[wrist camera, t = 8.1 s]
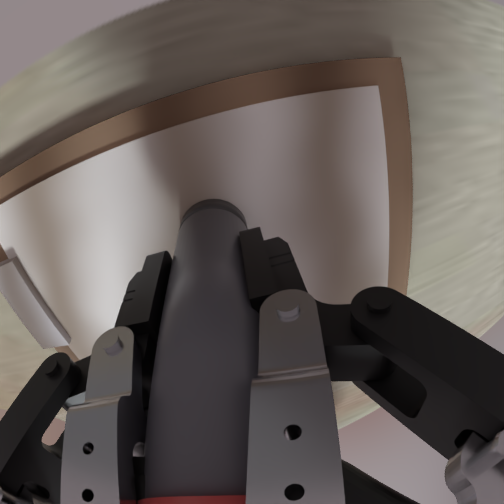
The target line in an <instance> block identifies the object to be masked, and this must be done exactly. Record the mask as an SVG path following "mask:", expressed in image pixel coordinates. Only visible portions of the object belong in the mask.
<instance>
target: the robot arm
mask: <svg viewBox="0 0 504 504" xmlns="http://www.w3.org/2000/svg"><path fill="white" fill-rule="evenodd" d="M239 234H240V241H241V248H242V254H243V261H244V268H245V274H246V281H247V287H248V294H249V300H250V303H251V306H252V308H253V309H254V310H256V311H257V312H258V313H259V314H260V321H259V366H258V376H256V377H253V379H252V383H251V395H250V418H249V440H248V462H247V484H246V504H420V503H417V502H416V501H414V500H411V499H410V498H408V497H406V496H404V495H402V494H400V493H399V492H397V491H395V490H393V489H392V488H390V487H388V486H386V485H385V484H383V483H381V482H379V481H378V480H376V479H374V478H372V477H371V476H369V475H368V474H366V473H364V472H363V471H361V470H359V469H358V468H356V467H355V466H353V465H351V464H350V463H348V462H346V461H344V460H342V459H341V455H340V445H339V438H338V429H337V421H336V414H335V406H334V399H333V392H332V386H331V381H352V382H353V383H354V384H355V385H356V386H357V387H358V388H359V389H361V390H362V391H363V392H364V393H365V394H367V395H368V396H369V397H370V398H371V399H373V400H374V401H375V402H376V403H378V404H379V405H380V406H381V407H383V408H384V409H385V410H386V411H387V412H389V413H390V414H391V415H392V416H393V417H395V418H396V419H397V420H398V421H400V422H401V423H402V424H403V425H405V426H406V427H407V428H408V429H410V430H411V431H412V432H413V433H415V434H416V435H417V436H418V437H420V438H421V439H422V440H423V441H425V442H426V443H427V444H428V445H430V446H431V447H432V448H434V449H435V450H436V451H438V452H439V453H440V454H441V455H443V456H444V457H445V458H447V459H448V462H447V465H446V469H445V481H446V485H447V486H448V488H449V489H450V490H451V492H452V493H453V494H454V495H455V497H456V499H457V502H458V504H504V354H502V353H500V352H499V351H497V350H496V349H494V348H492V347H491V346H489V345H487V344H486V343H484V342H483V341H481V340H479V339H478V338H476V337H475V336H473V335H471V334H470V333H468V332H466V331H465V330H463V329H461V328H460V327H458V326H456V325H455V324H453V323H451V322H450V321H448V320H446V319H445V318H443V317H441V316H440V315H438V314H436V313H435V312H433V311H431V310H429V309H428V308H426V307H424V306H423V305H421V304H419V303H417V302H416V301H414V300H412V299H410V298H409V297H407V296H405V295H403V294H402V293H400V292H398V291H396V290H394V289H392V288H389V287H384V286H374V287H369V288H366V289H364V290H362V291H360V292H359V293H357V294H356V295H355V296H354V298H353V299H352V301H351V304H326V303H322V302H320V301H317V300H316V299H314V298H313V297H312V296H311V295H310V294H309V293H308V291H307V289H306V287H305V284H304V282H303V279H302V277H301V274H300V272H299V269H298V267H297V264H296V262H295V259H294V257H293V254H292V252H291V250H290V247H289V245H288V243H287V242H286V241H284V240H283V239H281V238H280V237H275V238H271V239H267V240H264V239H263V236H262V232H261V229H260V227H256V228H252V229H248V230H244V231H240V232H239ZM171 265H172V257H171V255H170V253H169V252H168V251H162V252H158V253H155V254H151V255H147V256H146V259H145V262H144V265H143V268H142V271H140V272H137V273H136V274H135V275H134V277H133V278H132V279H131V280H130V281H129V283H128V286H127V289H126V294H125V295H124V298H123V302H122V304H121V307H120V310H119V313H118V317H117V320H116V323H115V326H114V328H112V329H109V330H107V331H106V332H104V333H103V334H102V335H101V336H100V337H99V338H98V339H97V340H96V342H95V343H94V345H93V348H92V353H91V355H90V356H88V357H86V358H83V359H81V360H79V361H76V362H73V360H72V359H71V358H70V357H69V356H68V354H66V353H64V352H58V353H55V354H53V355H51V356H49V357H48V358H47V359H46V360H45V361H44V362H43V363H42V364H41V366H40V367H39V368H38V370H37V371H36V372H35V373H34V375H33V376H32V377H31V379H30V380H29V381H28V383H27V384H26V385H25V387H24V388H23V390H22V391H21V392H20V394H19V395H18V396H17V398H16V399H15V401H14V402H13V403H12V405H11V406H10V408H9V409H8V411H7V412H6V414H5V415H4V417H3V418H2V420H1V421H0V504H137V501H138V500H141V499H145V475H144V469H145V456H144V449H145V437H146V427H147V417H148V408H149V399H150V391H151V383H152V376H153V368H154V361H155V355H156V348H157V342H158V335H159V329H160V323H161V318H162V312H163V306H164V301H165V295H166V290H167V285H168V280H169V275H170V270H171ZM61 407H63V408H64V409H65V410H66V411H67V415H66V424H65V430H64V431H63V433H62V434H61V436H60V437H59V439H58V440H57V442H56V443H55V444H54V445H51V446H48V445H46V444H44V443H42V441H41V440H42V436H43V434H44V433H45V431H46V429H47V428H48V427H49V425H50V423H51V422H52V420H53V419H54V418H55V416H56V415H57V413H58V412H59V410H60V409H61Z"/></svg>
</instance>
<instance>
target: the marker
mask: <svg viewBox="0 0 504 504" xmlns="http://www.w3.org/2000/svg"><path fill="white" fill-rule="evenodd" d="M244 230H248V228H247V223H246V220H245V217H244V215H243V214H242V212H241V211H240V210H239V209H238V208H237V207H236V206H235V205H233V204H232V203H230V202H228V201H225V200H221V199H206V200H203V201H200V202H198V203H196V204H194V205H193V206H191V207H190V208H189V209H188V210H187V211H186V213H185V214H184V216H183V218H182V221H181V224H180V229H179V233H178V237H177V242H176V246H175V251H174V256H173V260H172V265H171V270H170V275H169V280H168V285H167V290H166V295H165V301H164V306H163V312H162V318H161V323H160V329H159V335H158V342H157V348H156V355H155V361H154V368H153V376H152V383H151V391H150V399H149V408H148V417H147V427H146V437H145V449H144V456H145V469H144V475H145V499H141V500H138V501H137V504H246V484H247V462H248V440H249V418H250V395H251V383H252V379H253V377H256V376H258V366H259V321H260V314H259V313H258V312H257V311H256V310H254V309H253V308H252V306H251V303H250V300H249V294H248V287H247V281H246V274H245V268H244V261H243V254H242V248H241V241H240V234H239V232H240V231H244Z"/></svg>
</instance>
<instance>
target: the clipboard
mask: <svg viewBox="0 0 504 504" xmlns="http://www.w3.org/2000/svg"><path fill="white" fill-rule="evenodd" d="M206 199H221V200H225V201H228V202H230V203H232V204H233V205H235V206H236V207H237V208H238V209H239V210H240V211H241V212H242V214H243V215H244V217H245V220H246V223H247V228H248V229H252V228H256V227H260V229H261V232H262V236H263V239H264V240H267V239H271V238H275V237H280V238H281V239H283V240H284V241H286V242H287V243H288V245H289V247H290V250H291V252H292V254H293V257H294V259H295V262H296V264H297V267H298V269H299V272H300V274H301V277H302V279H303V282H304V284H305V287H306V289H307V291H308V293H309V294H310V295H311V296H312V297H313V298H314V299H316V300H317V301H320V302H322V303H326V304H351V301H352V299H353V298H354V296H355V295H356V294H357V293H359V292H360V291H362V290H364V289H366V288H369V287H374V286H384V287H389V288H392V289H394V290H396V291H398V292H400V293H402V294H403V295H405V296H406V293H407V285H408V275H409V264H410V252H411V235H412V203H413V183H412V152H411V135H410V123H409V113H408V103H407V95H406V88H405V80H404V74H403V68H402V62H401V57H393V58H363V59H348V60H337V61H327V62H318V63H310V64H303V65H296V66H289V67H283V68H277V69H272V70H267V71H261V72H257V73H252V74H247V75H243V76H238V77H234V78H230V79H226V80H222V81H218V82H214V83H210V84H207V85H203V86H200V87H196V88H193V89H189V90H186V91H183V92H180V93H176V94H173V95H170V96H167V97H164V98H161V99H159V100H156V101H153V102H150V103H147V104H145V105H142V106H139V107H137V108H134V109H131V110H129V111H126V112H124V113H121V114H119V115H117V116H114V117H112V118H109V119H107V120H105V121H103V122H100V123H98V124H96V125H94V126H91V127H89V128H87V129H85V130H83V131H81V132H79V133H77V134H75V135H73V136H71V137H69V138H67V139H65V140H63V141H61V142H59V143H57V144H55V145H53V146H51V147H50V148H48V149H46V150H44V151H42V152H41V153H39V154H37V155H35V156H34V157H32V158H30V159H28V160H27V161H25V162H23V163H22V164H20V165H19V166H17V167H15V168H14V169H12V170H11V171H9V172H7V173H6V174H4V175H3V176H1V177H0V291H1V293H2V294H3V296H4V297H5V299H6V300H7V302H8V303H9V304H10V306H11V307H12V309H13V310H14V312H15V313H16V314H17V316H18V317H19V319H20V320H21V321H22V323H23V324H24V325H25V327H26V328H27V329H28V330H29V332H30V333H31V334H32V336H33V337H34V338H35V339H36V341H37V342H38V343H39V344H40V346H41V347H42V348H43V349H46V348H53V347H54V348H55V349H56V350H57V351H58V352H64V353H66V354H68V356H69V357H70V358H71V359H72V360H73V362H76V361H79V360H81V359H83V358H86V357H88V356H90V355H91V353H92V348H93V345H94V343H95V342H96V340H97V339H98V338H99V337H100V336H101V335H102V334H103V333H104V332H106V331H107V330H109V329H112V328H114V326H115V323H116V320H117V317H118V313H119V310H120V307H121V304H122V302H123V298H124V295H125V294H126V289H127V286H128V283H129V281H130V280H131V279H132V278H133V277H134V275H135V274H136V273H137V272H140V271H142V268H143V265H144V262H145V259H146V256H147V255H151V254H155V253H158V252H162V251H168V252H169V253H170V255H171V257H172V260H173V256H174V251H175V246H176V242H177V237H178V233H179V229H180V224H181V221H182V218H183V216H184V214H185V213H186V211H187V210H188V209H189V208H190V207H191V206H193V205H194V204H196V203H198V202H200V201H203V200H206Z"/></svg>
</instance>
